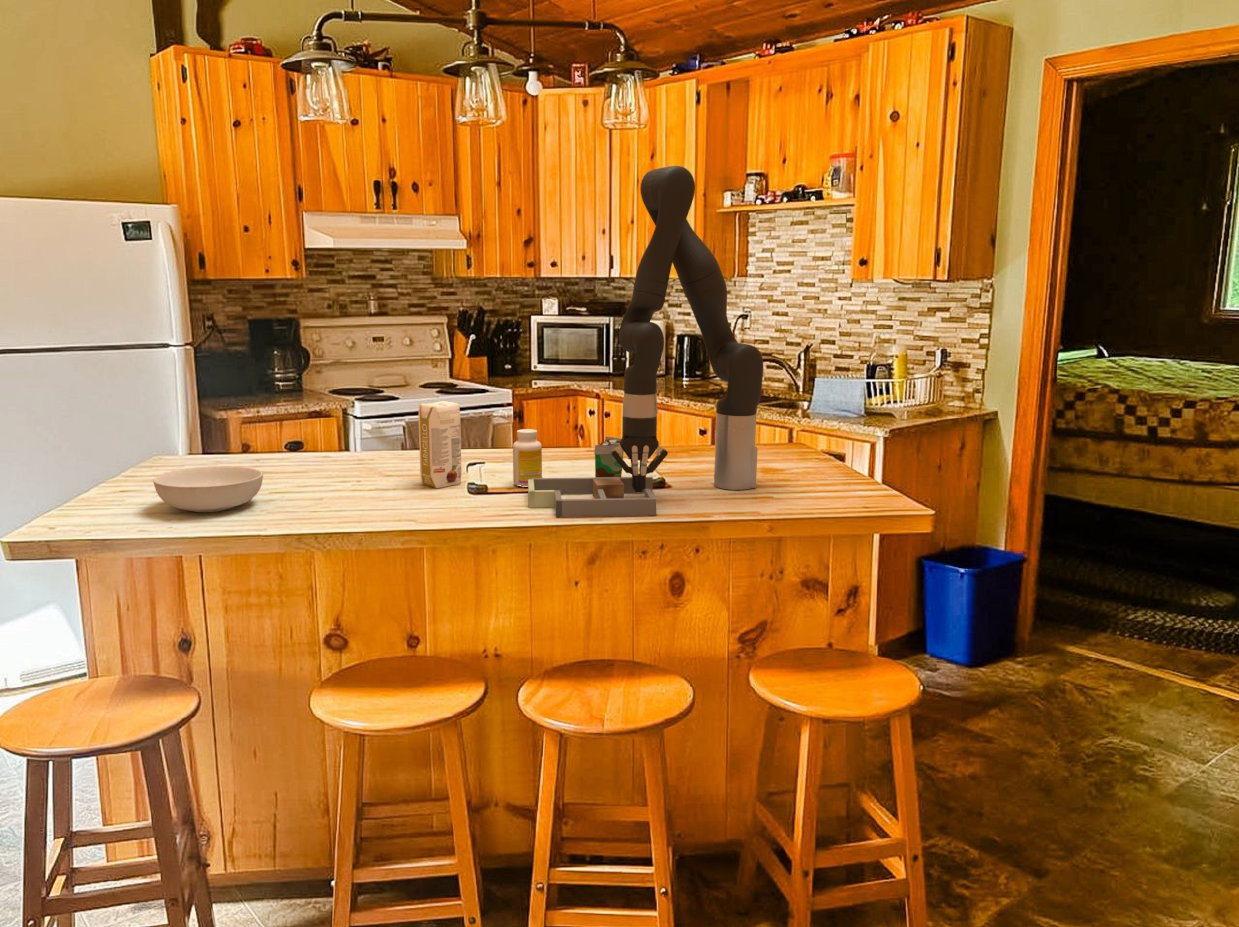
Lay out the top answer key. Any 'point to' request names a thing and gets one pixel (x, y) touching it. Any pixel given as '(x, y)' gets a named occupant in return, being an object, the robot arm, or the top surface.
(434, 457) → the juice carton
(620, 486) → the walnut block
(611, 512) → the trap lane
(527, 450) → the supplement bottle
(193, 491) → the serving bowl
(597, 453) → the food container
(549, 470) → the top surface
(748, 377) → the robot arm
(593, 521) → the top surface
